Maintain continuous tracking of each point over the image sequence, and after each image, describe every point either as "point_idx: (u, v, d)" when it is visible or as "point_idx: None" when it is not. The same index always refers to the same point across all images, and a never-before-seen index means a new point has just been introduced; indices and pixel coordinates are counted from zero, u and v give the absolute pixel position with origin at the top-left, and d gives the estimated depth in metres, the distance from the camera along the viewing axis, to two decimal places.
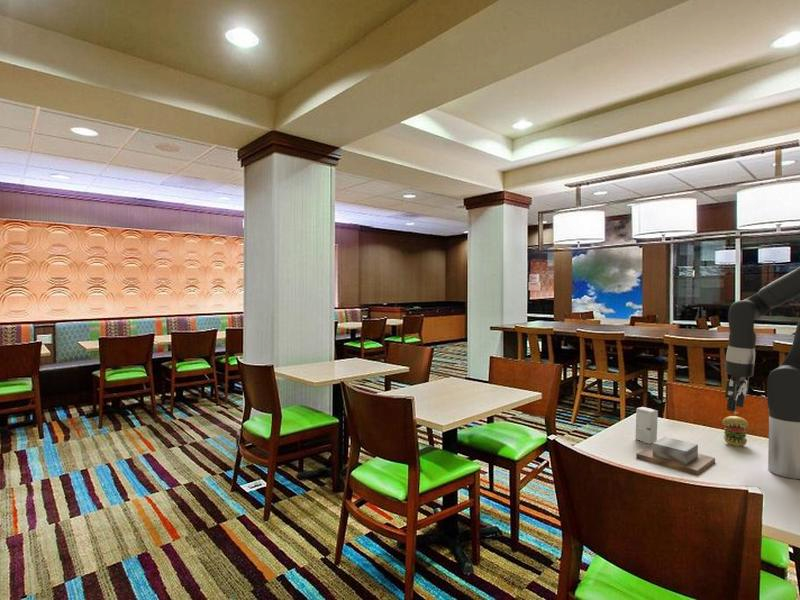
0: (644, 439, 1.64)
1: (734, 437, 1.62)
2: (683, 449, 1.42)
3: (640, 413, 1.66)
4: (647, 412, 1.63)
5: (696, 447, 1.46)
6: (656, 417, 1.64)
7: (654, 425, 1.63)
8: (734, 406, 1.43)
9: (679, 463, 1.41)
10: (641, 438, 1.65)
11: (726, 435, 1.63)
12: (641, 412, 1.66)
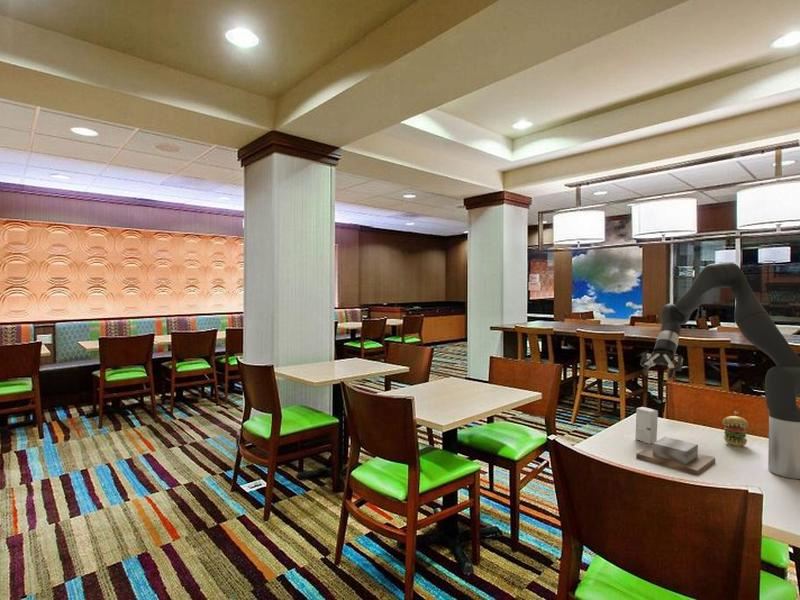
0: (644, 439, 1.64)
1: (734, 437, 1.62)
2: (683, 449, 1.42)
3: (640, 413, 1.66)
4: (647, 412, 1.63)
5: (696, 447, 1.46)
6: (656, 417, 1.64)
7: (654, 425, 1.63)
8: (644, 369, 1.77)
9: (679, 463, 1.41)
10: (641, 438, 1.65)
11: (726, 435, 1.63)
12: (641, 412, 1.66)
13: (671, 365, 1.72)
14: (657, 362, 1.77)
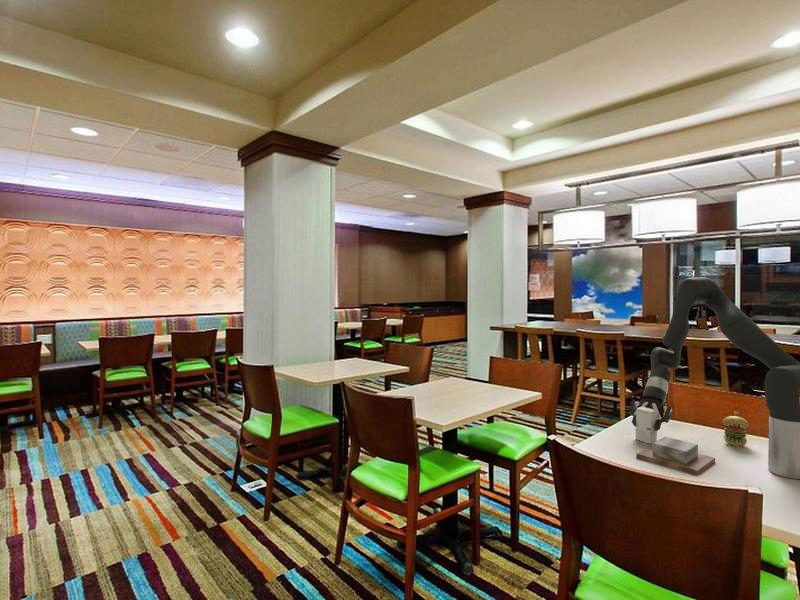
0: (644, 439, 1.64)
1: (734, 437, 1.62)
2: (683, 449, 1.42)
3: (640, 413, 1.66)
4: (647, 412, 1.63)
5: (696, 447, 1.46)
6: (656, 417, 1.64)
7: (654, 425, 1.63)
8: (634, 419, 1.68)
9: (679, 463, 1.41)
10: (641, 438, 1.65)
11: (726, 435, 1.63)
12: (641, 412, 1.66)
13: (658, 416, 1.64)
14: None
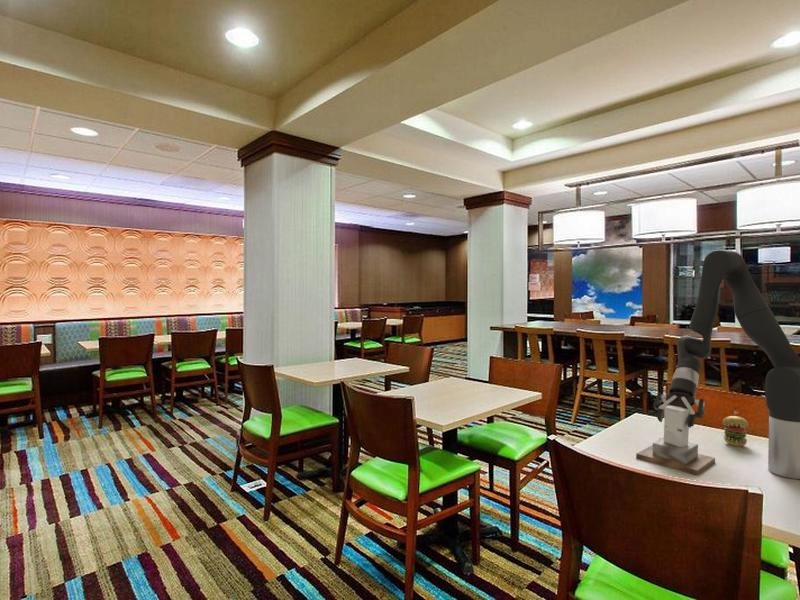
0: (674, 442, 1.46)
1: (734, 437, 1.62)
2: (683, 449, 1.42)
3: (669, 412, 1.47)
4: (678, 411, 1.45)
5: (696, 447, 1.46)
6: (688, 417, 1.45)
7: (686, 426, 1.45)
8: (659, 414, 1.50)
9: (679, 463, 1.41)
10: (671, 440, 1.47)
11: (726, 435, 1.63)
12: (671, 411, 1.47)
13: (691, 411, 1.45)
14: None
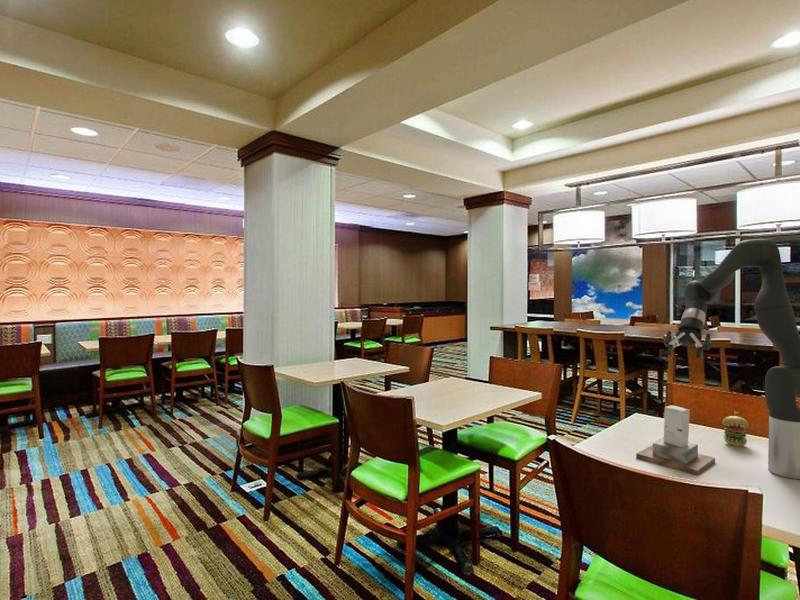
0: (674, 442, 1.46)
1: (734, 437, 1.62)
2: (683, 449, 1.42)
3: (669, 412, 1.47)
4: (678, 411, 1.45)
5: (696, 447, 1.46)
6: (688, 417, 1.45)
7: (686, 426, 1.45)
8: (669, 349, 1.65)
9: (679, 463, 1.41)
10: (671, 440, 1.47)
11: (726, 435, 1.63)
12: (671, 411, 1.47)
13: (699, 344, 1.59)
14: (683, 341, 1.64)
